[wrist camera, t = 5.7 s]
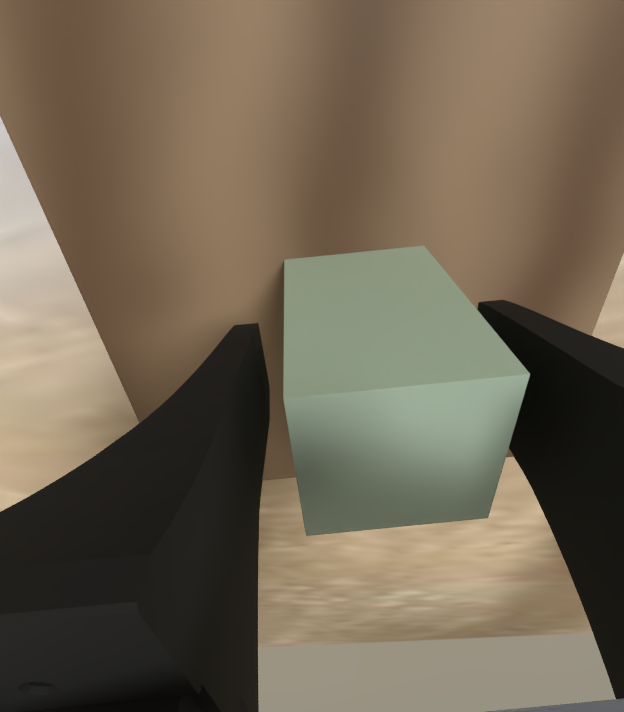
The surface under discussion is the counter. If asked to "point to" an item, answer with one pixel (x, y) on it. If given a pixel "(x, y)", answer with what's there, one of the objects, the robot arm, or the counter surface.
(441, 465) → the block
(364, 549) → the counter surface
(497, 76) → the base board
